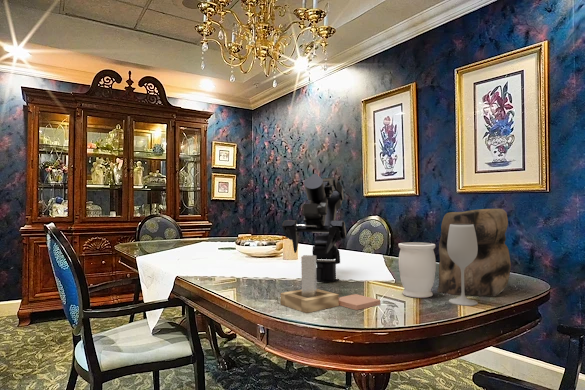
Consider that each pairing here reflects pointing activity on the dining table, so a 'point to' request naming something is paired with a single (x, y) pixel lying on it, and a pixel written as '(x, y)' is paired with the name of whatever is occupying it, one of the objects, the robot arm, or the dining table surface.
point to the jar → (417, 268)
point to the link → (309, 276)
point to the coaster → (358, 301)
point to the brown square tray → (309, 300)
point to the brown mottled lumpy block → (490, 257)
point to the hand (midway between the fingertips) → (310, 252)
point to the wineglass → (462, 254)
